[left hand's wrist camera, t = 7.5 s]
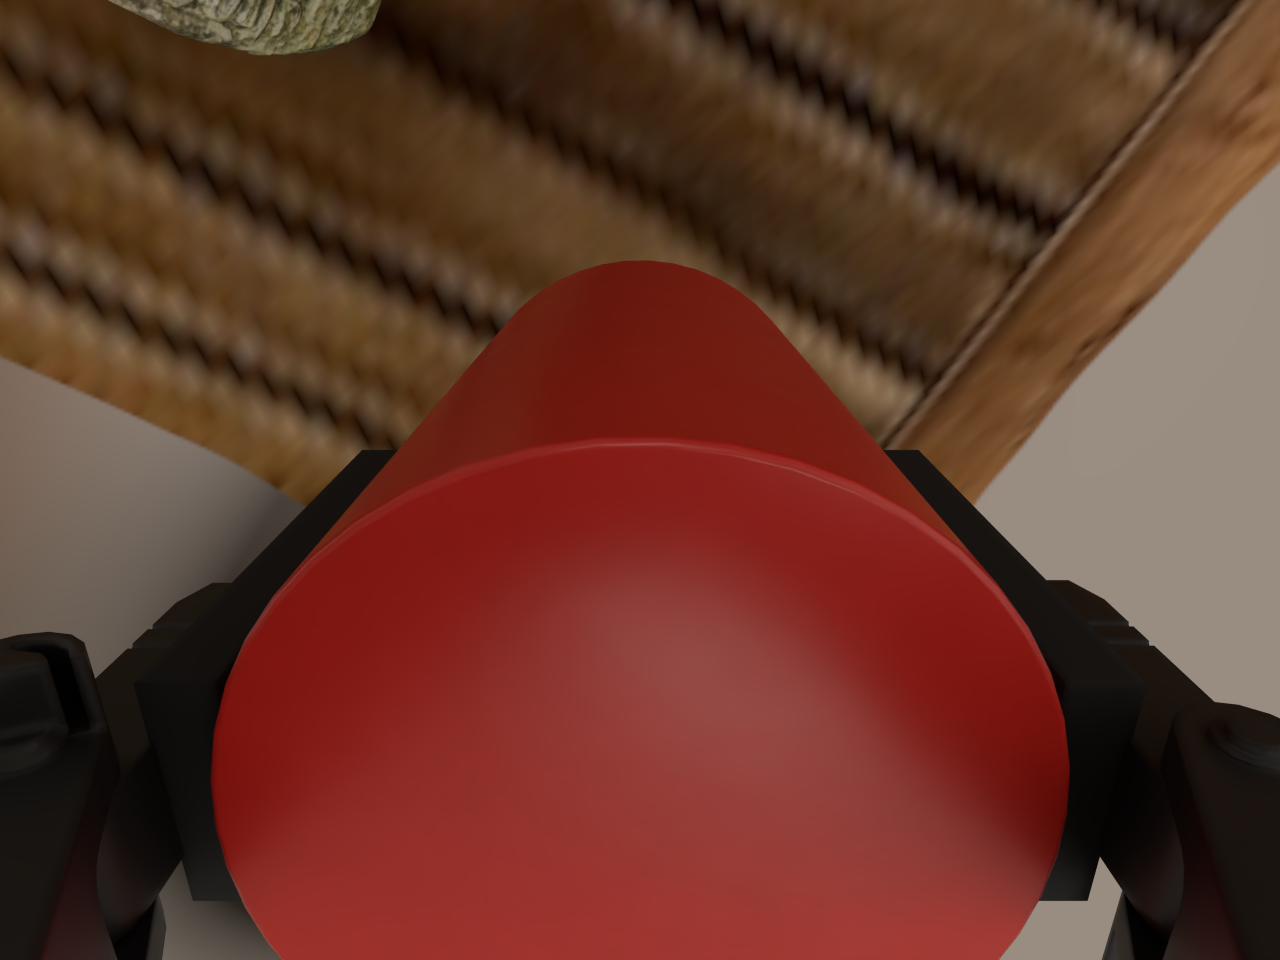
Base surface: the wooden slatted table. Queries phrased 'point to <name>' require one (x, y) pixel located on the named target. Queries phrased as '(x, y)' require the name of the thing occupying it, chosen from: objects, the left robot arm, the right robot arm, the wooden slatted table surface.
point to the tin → (640, 673)
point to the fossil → (262, 22)
